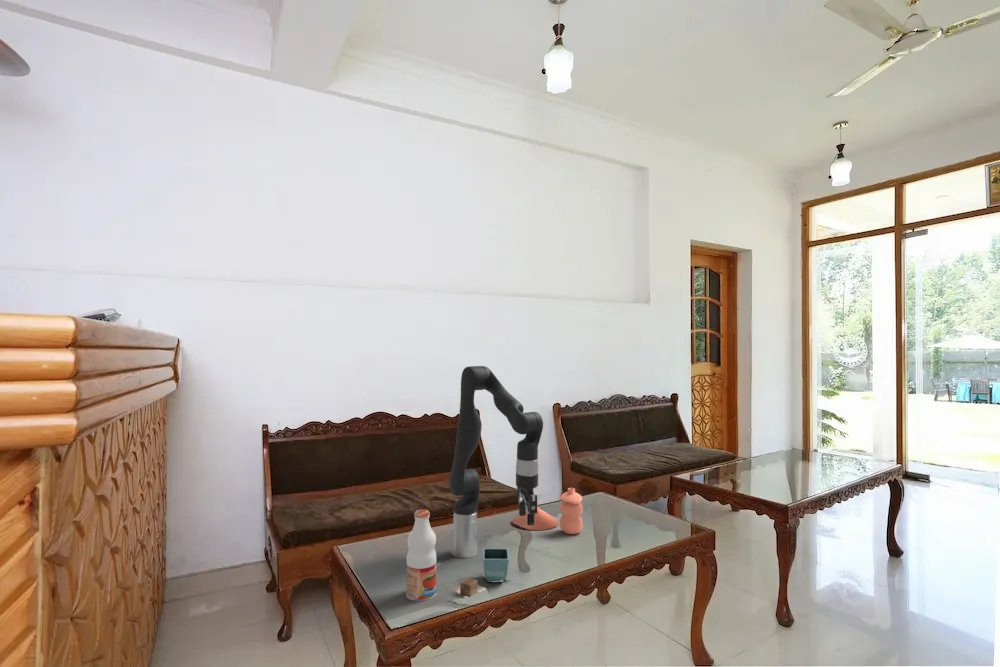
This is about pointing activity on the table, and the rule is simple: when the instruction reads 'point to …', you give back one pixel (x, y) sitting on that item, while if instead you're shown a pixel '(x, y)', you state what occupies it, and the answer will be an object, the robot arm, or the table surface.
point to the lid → (468, 587)
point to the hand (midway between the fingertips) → (526, 519)
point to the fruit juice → (421, 559)
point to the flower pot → (495, 564)
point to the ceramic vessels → (543, 520)
